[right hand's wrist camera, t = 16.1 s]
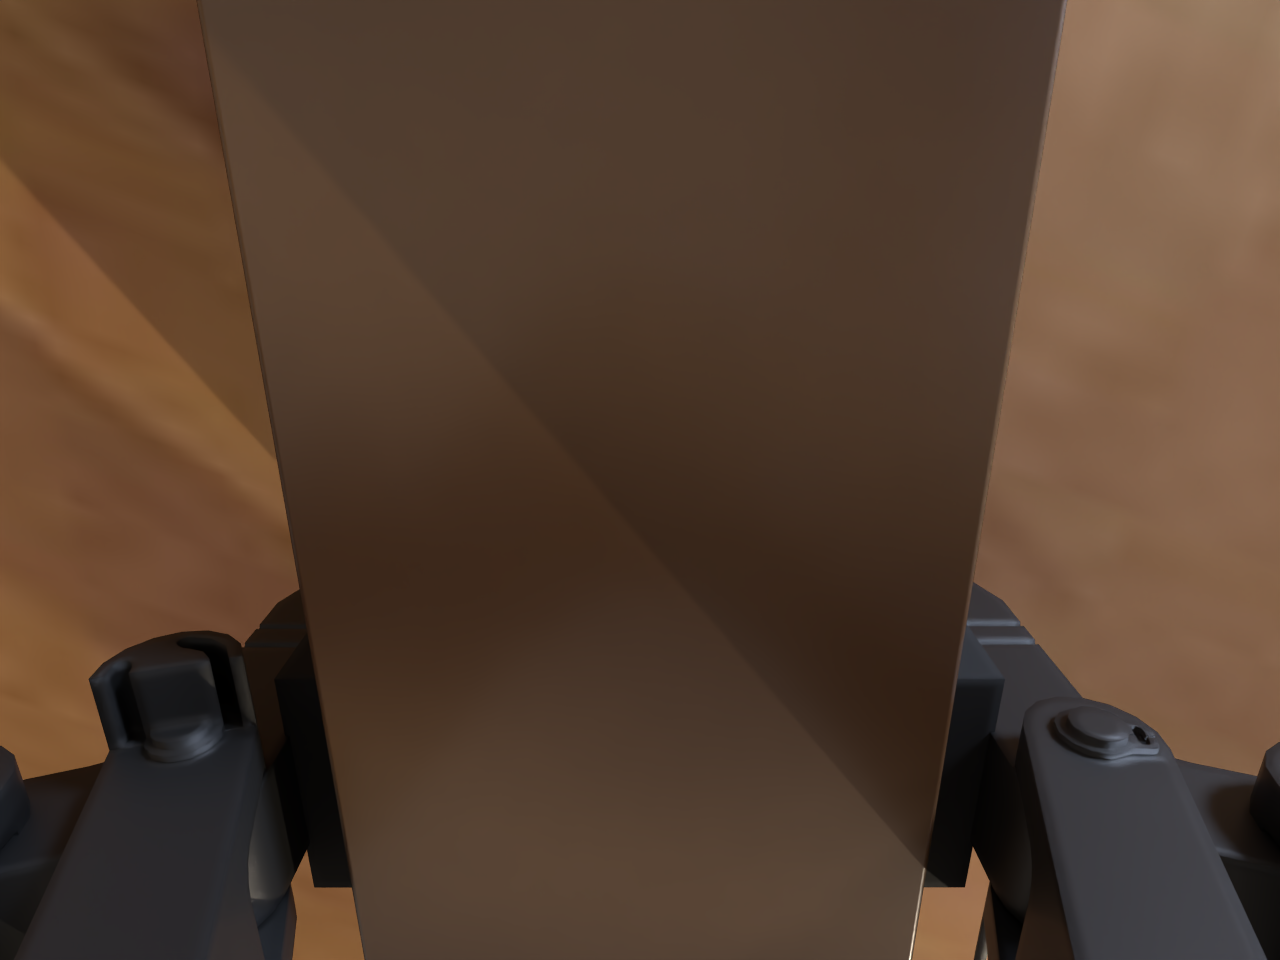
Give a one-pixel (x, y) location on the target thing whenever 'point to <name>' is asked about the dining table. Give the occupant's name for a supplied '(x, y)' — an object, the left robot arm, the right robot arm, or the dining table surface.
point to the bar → (634, 443)
